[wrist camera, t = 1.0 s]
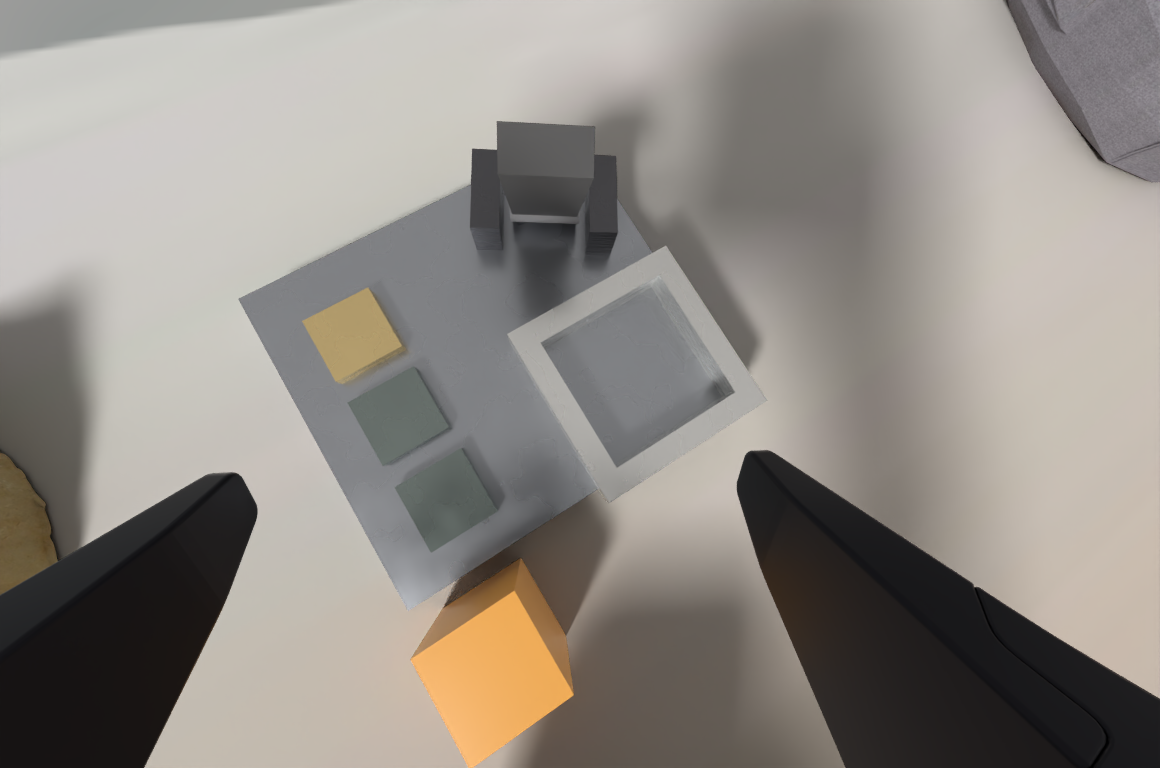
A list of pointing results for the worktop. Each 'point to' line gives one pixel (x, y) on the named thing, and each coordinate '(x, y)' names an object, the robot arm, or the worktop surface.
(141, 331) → the worktop surface
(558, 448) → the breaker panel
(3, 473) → the rock
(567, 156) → the block
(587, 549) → the worktop surface
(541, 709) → the orange cube
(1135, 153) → the small grey backpack
